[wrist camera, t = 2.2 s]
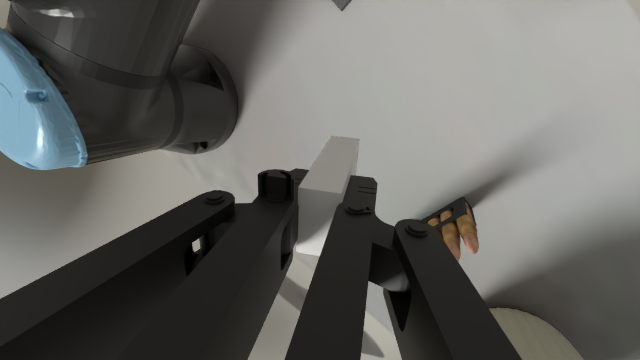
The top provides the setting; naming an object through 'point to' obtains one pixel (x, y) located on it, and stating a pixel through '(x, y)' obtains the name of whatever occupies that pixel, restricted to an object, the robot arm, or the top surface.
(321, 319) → the robot arm
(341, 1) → the desk pad
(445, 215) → the ammunition clip
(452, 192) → the top surface
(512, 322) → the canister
